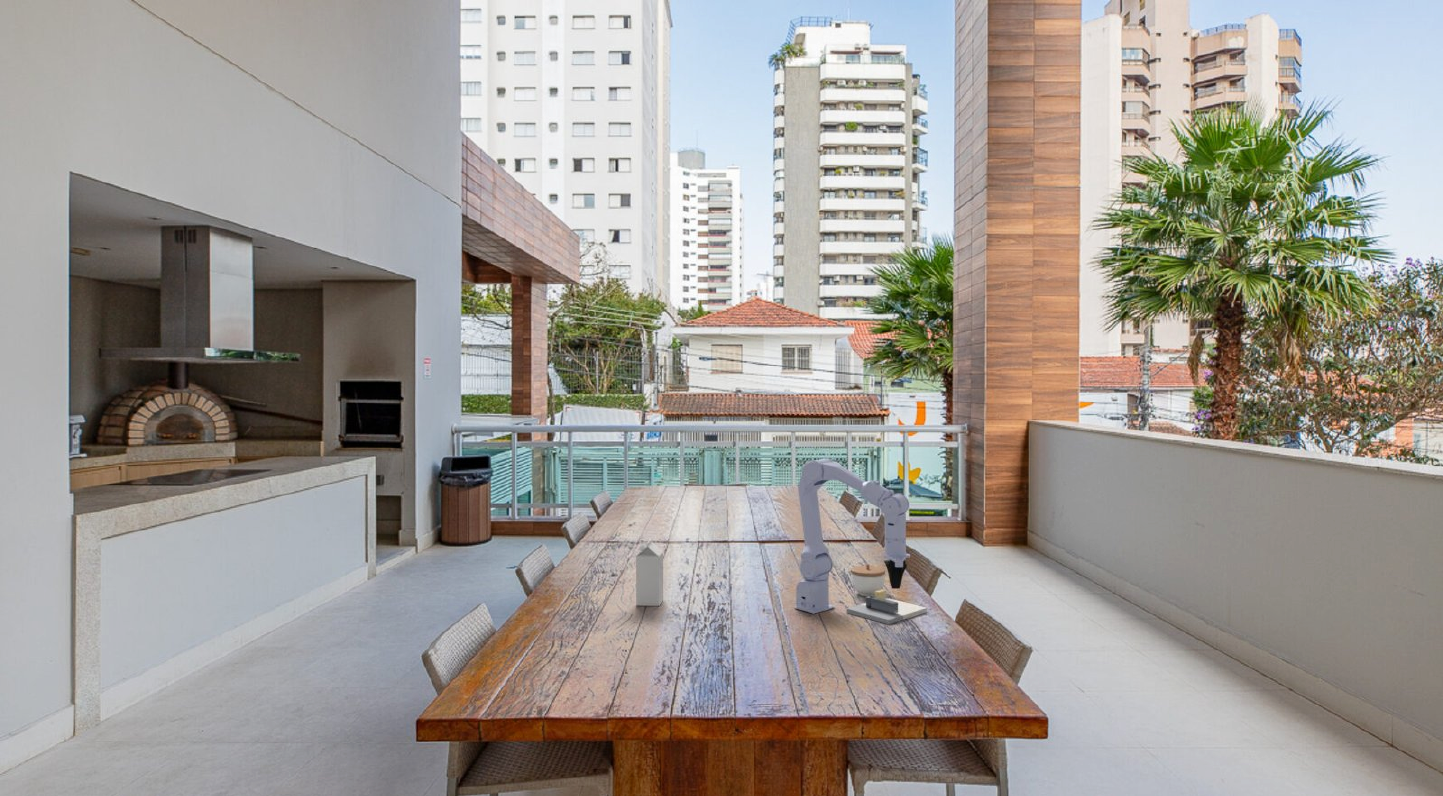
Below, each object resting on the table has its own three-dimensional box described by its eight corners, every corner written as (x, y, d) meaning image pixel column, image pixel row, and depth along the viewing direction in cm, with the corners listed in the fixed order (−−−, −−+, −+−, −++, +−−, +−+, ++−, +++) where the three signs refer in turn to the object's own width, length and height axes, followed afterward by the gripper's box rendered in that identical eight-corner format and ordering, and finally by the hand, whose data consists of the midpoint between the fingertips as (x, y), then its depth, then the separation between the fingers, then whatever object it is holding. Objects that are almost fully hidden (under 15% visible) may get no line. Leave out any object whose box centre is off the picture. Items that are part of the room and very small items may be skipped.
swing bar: (863, 606, 222) (863, 596, 222) (869, 604, 224) (869, 594, 224) (893, 614, 214) (892, 604, 214) (899, 612, 216) (899, 602, 216)
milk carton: (663, 600, 235) (663, 538, 235) (659, 606, 228) (659, 543, 228) (640, 599, 236) (640, 538, 236) (635, 606, 229) (635, 542, 229)
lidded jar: (888, 598, 236) (888, 568, 236) (853, 598, 236) (853, 568, 236) (881, 589, 247) (881, 560, 247) (848, 589, 247) (848, 560, 247)
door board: (888, 624, 210) (888, 609, 210) (846, 612, 221) (846, 598, 221) (927, 611, 221) (927, 598, 221) (885, 601, 233) (885, 588, 233)
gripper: (914, 543, 203) (914, 594, 203) (905, 533, 217) (905, 581, 217) (887, 543, 203) (887, 594, 203) (880, 533, 218) (880, 580, 218)
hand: (895, 587), depth 210 cm, fingers closed
